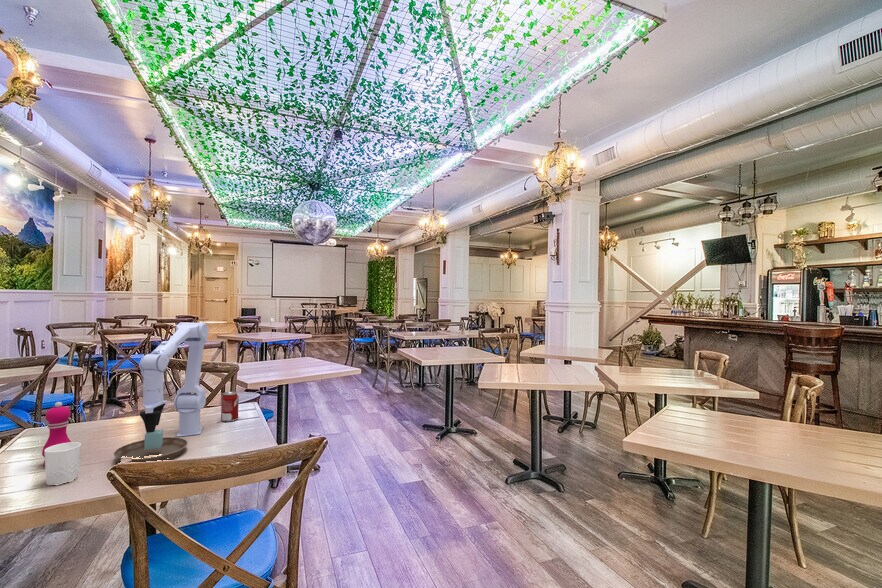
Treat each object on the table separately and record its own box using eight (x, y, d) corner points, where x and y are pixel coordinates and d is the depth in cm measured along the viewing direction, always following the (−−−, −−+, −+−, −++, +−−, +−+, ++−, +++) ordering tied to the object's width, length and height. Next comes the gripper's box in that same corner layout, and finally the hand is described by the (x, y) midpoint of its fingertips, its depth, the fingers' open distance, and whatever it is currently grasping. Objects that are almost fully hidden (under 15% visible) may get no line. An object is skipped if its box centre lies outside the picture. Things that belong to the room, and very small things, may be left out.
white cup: (87, 475, 124) (87, 442, 124) (64, 487, 116) (64, 452, 116) (60, 474, 124) (61, 442, 124) (35, 487, 116) (36, 451, 116)
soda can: (230, 423, 176) (231, 395, 176) (217, 421, 177) (217, 394, 177) (241, 418, 182) (242, 391, 182) (228, 417, 184) (228, 390, 184)
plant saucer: (192, 442, 153) (192, 433, 153) (181, 463, 134) (181, 453, 134) (125, 449, 145) (125, 440, 145) (103, 473, 126) (103, 462, 126)
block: (147, 445, 141) (147, 431, 141) (162, 443, 143) (163, 429, 143) (144, 449, 137) (144, 435, 137) (160, 448, 139) (160, 433, 139)
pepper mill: (70, 457, 137) (71, 397, 137) (74, 463, 132) (75, 401, 132) (40, 464, 131) (41, 402, 131) (43, 470, 127) (44, 406, 127)
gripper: (163, 392, 135) (163, 433, 135) (170, 383, 148) (169, 421, 148) (137, 394, 132) (137, 436, 132) (146, 385, 145) (146, 423, 145)
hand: (152, 428), depth 140 cm, fingers open, 7 cm apart
